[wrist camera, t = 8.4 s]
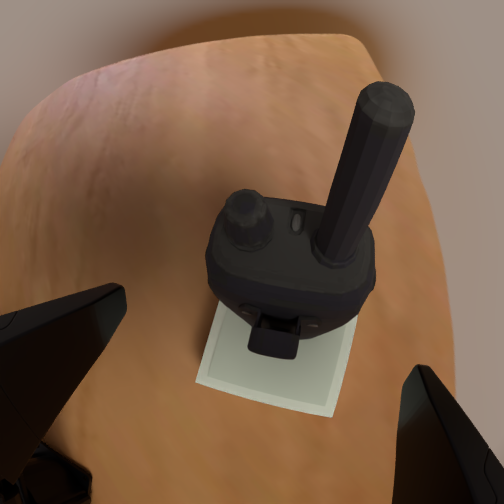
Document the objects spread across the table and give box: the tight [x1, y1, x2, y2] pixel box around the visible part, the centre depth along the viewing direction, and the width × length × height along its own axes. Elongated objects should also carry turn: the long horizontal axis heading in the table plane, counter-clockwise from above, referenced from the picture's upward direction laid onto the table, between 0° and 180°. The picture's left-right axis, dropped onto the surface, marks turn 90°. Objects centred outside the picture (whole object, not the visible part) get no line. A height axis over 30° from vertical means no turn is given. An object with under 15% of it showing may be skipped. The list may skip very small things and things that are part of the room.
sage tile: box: [196, 300, 358, 418], centre depth 18 cm, size 8×10×3 cm
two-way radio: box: [205, 81, 415, 360], centre depth 10 cm, size 6×4×15 cm
